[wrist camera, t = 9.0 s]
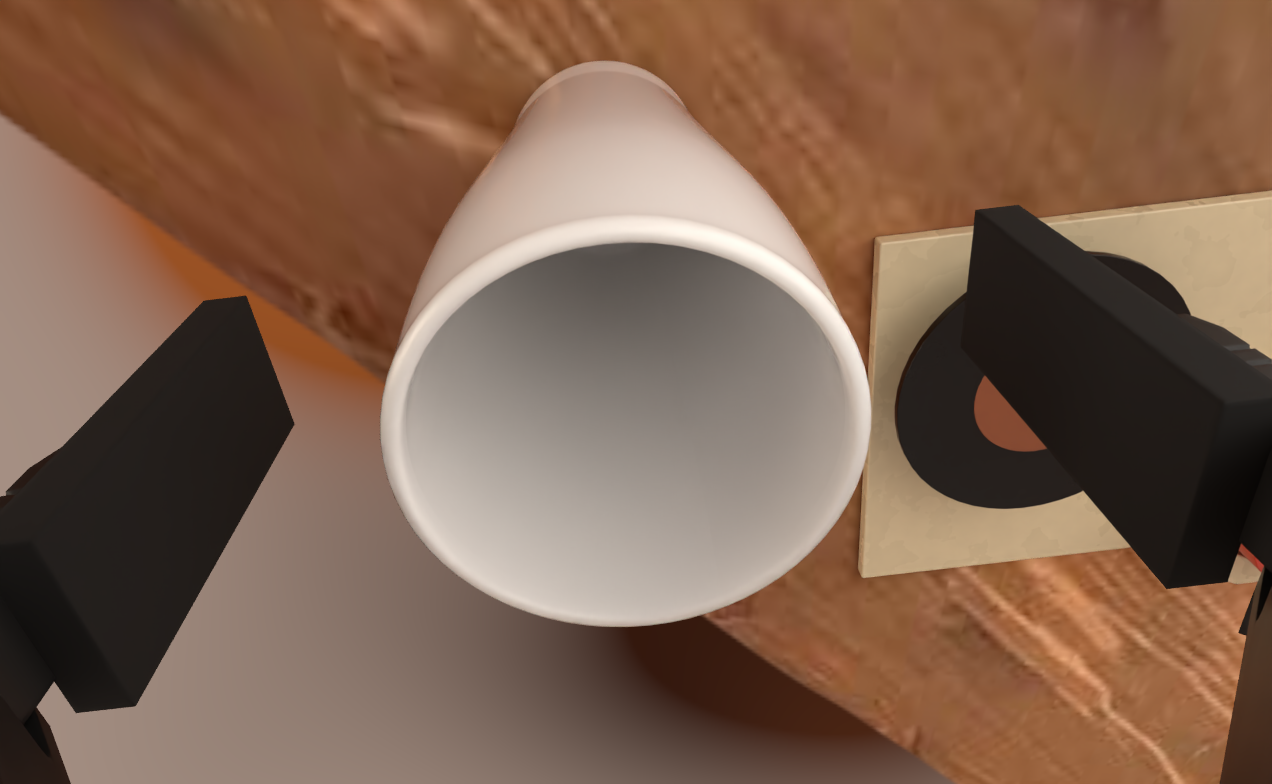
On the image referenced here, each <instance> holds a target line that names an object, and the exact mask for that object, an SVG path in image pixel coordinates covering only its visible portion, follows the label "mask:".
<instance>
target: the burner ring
mask: <svg viewBox="0 0 1272 784" xmlns="http://www.w3.org/2000/svg"><path fill="white" fill-rule="evenodd" d="M1086 252H1087V253H1089V254H1090V255H1092V256H1093V257H1094V258H1096V259H1097V260H1099V261H1100V262H1102V263H1103V264H1105V265H1106V266H1107V267H1109V268H1110V269H1112V270H1113V271H1115V272H1116V273H1118V274H1119V275H1121V276H1122V277H1123V278H1125V279H1126V280H1128V281H1129V282H1131V283H1132V284H1134V285H1135V286H1136V287H1138V288H1139V289H1141V290H1142V291H1144V292H1145V293H1147V294H1148V295H1150V296H1151V297H1152V298H1154V299H1155V300H1157V301H1158V302H1160V303H1161V304H1163V305H1164V306H1165V307H1167V308H1168V309H1170V310H1171V311H1173V312H1174V313H1176V314H1185V313H1186V314H1189V315H1191V313H1190V311H1189V309H1188V307H1187V305H1186V303H1185V301H1184V299H1183V297H1182V296H1181V295H1180V293H1179V292H1178V291H1177V290H1176V288H1175V287H1174V286H1173V285H1172V284H1171V283H1170V282H1169V281H1168V280H1166V279H1165V278H1164V277H1163V276H1162V275H1161V274H1159V273H1158V272H1156V271H1154V270H1153V269H1151V268H1149V267H1148V266H1146V265H1144V264H1143V263H1141V262H1138V261H1135V260H1133V259H1130V258H1128V257H1125V256H1121V255H1116V254H1111V253H1107V252H1095V251H1086ZM965 301H966V293H964V294H963V295H962V296H960V297H959V298H958V299H957V300H956V301H954V302H953V303H952V304H951V305H950V306H949V307H947V308H946V309H945V310H944V311H943V312H942V313H941V315H940V316H939V317H938V318H937V319H936V320H935V321H934V322H933V323H932V324H931V325H930V327H929V328H928V329H927V330H926V332H925V333H924V334H923V336H922V337H921V338H920V340H919V341H918V343H917V345H916V346H915V348H914V350H913V351H912V353H911V355H910V356H909V358H908V361H907V363H906V365H905V367H904V370H903V372H902V375H901V378H900V381H899V385H898V388H897V394H896V400H895V427H896V433H897V438H898V440H899V443H900V446H901V449H902V451H903V453H904V455H905V457H906V458H907V460H908V462H909V464H910V465H911V467H912V468H913V470H914V471H915V472H916V473H917V474H918V476H919V477H920V478H921V479H922V480H923V481H924V482H926V483H927V484H928V485H929V486H930V487H931V488H933V489H935V490H936V491H938V492H939V493H941V494H943V495H944V496H947V497H949V498H951V499H953V500H956V501H958V502H961V503H965V504H968V505H972V506H977V507H984V508H993V509H1015V508H1026V507H1032V506H1038V505H1043V504H1047V503H1051V502H1055V501H1059V500H1062V499H1064V498H1067V497H1070V496H1073V495H1075V494H1078V493H1080V492H1082V491H1083V490H1082V489H1081V488H1080V487H1079V485H1078V484H1077V483H1076V482H1075V481H1074V479H1073V478H1072V477H1071V476H1070V475H1069V474H1068V472H1067V471H1066V470H1065V469H1064V468H1063V467H1062V465H1061V464H1060V463H1059V462H1058V461H1057V460H1056V458H1055V457H1054V456H1053V455H1052V454H1051V452H1050V451H1049V450H1048V449H1047V448H1046V447H1045V445H1044V444H1043V443H1042V442H1041V441H1040V440H1039V438H1038V437H1037V436H1036V435H1035V434H1034V432H1033V431H1032V430H1031V429H1030V428H1029V427H1028V425H1027V424H1026V423H1025V422H1024V421H1023V420H1022V418H1021V417H1020V416H1019V415H1018V414H1017V413H1016V411H1015V410H1014V409H1013V408H1012V407H1011V405H1010V404H1009V403H1008V402H1007V401H1006V400H1005V398H1004V397H1003V396H1002V395H1001V394H1000V393H999V391H998V390H997V389H996V388H995V387H994V386H993V384H992V383H991V382H990V381H989V380H988V378H987V377H986V376H985V375H984V374H983V373H982V371H981V370H980V369H979V368H978V367H977V366H976V364H975V363H974V362H973V361H972V360H971V358H970V357H969V356H968V355H967V354H966V353H965V351H964V350H963V349H962V348H961V347H960V346H961V337H962V328H963V319H964V310H965Z"/></svg>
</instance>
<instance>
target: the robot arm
mask: <svg viewBox="0 0 1272 784" xmlns="http://www.w3.org/2000/svg"><path fill="white" fill-rule="evenodd" d="M960 347H961V348H962V349H963V350H964V351H965V353H966V354H967V355H968V356H969V357H970V358H971V360H972V361H973V362H974V363H975V364H976V366H977V367H978V368H979V369H980V370H981V371H982V373H983V374H984V375H985V376H986V377H987V378H988V380H989V381H990V382H991V383H992V384H993V386H994V387H995V388H996V389H997V390H998V391H999V393H1000V394H1001V395H1002V396H1003V397H1004V398H1005V400H1006V401H1007V402H1008V403H1009V404H1010V405H1011V407H1012V408H1013V409H1014V410H1015V411H1016V413H1017V414H1018V415H1019V416H1020V417H1021V418H1022V420H1023V421H1024V422H1025V423H1026V424H1027V425H1028V427H1029V428H1030V429H1031V430H1032V431H1033V432H1034V434H1035V435H1036V436H1037V437H1038V438H1039V440H1040V441H1041V442H1042V443H1043V444H1044V445H1045V447H1046V448H1047V449H1048V450H1049V451H1050V452H1051V454H1052V455H1053V456H1054V457H1055V458H1056V460H1057V461H1058V462H1059V463H1060V464H1061V465H1062V467H1063V468H1064V469H1065V470H1066V471H1067V472H1068V474H1069V475H1070V476H1071V477H1072V478H1073V479H1074V481H1075V482H1076V483H1077V484H1078V485H1079V487H1080V488H1081V489H1082V490H1083V491H1084V492H1085V494H1086V495H1087V496H1088V497H1089V498H1090V499H1091V501H1092V502H1093V503H1094V504H1095V505H1096V507H1097V508H1098V509H1099V510H1100V511H1101V512H1102V514H1103V515H1104V516H1105V517H1106V518H1107V519H1108V521H1109V522H1110V523H1111V524H1112V525H1113V526H1114V528H1115V529H1116V530H1117V531H1118V532H1119V534H1120V535H1121V536H1122V537H1123V538H1124V539H1125V541H1126V542H1127V543H1128V544H1129V545H1130V546H1131V548H1132V549H1133V550H1134V551H1135V552H1136V554H1137V555H1138V556H1139V557H1140V558H1141V559H1142V561H1143V562H1144V563H1145V564H1146V565H1147V566H1148V568H1149V569H1150V570H1151V571H1152V572H1153V573H1154V575H1155V576H1156V577H1157V578H1158V579H1159V581H1160V582H1161V583H1162V584H1163V585H1164V586H1165V588H1166V589H1171V588H1179V587H1188V586H1197V585H1206V584H1215V583H1223V582H1228V579H1229V576H1230V573H1231V571H1232V568H1233V565H1234V562H1235V559H1236V557H1237V554H1238V551H1239V548H1240V545H1241V544H1242V545H1243V546H1244V547H1245V548H1246V549H1247V550H1248V551H1249V552H1250V553H1252V554H1253V555H1254V556H1255V557H1256V558H1257V559H1258V560H1259V561H1260V562H1261V563H1262V564H1263V565H1264V567H1263V569H1262V572H1261V575H1260V577H1259V580H1258V583H1257V585H1256V588H1255V590H1254V593H1253V596H1252V598H1251V601H1250V604H1249V606H1248V609H1247V611H1246V614H1245V617H1244V619H1243V622H1242V625H1241V627H1240V630H1239V632H1238V633H1240V634H1243V635H1246V642H1245V647H1244V653H1243V658H1242V664H1241V669H1240V675H1239V680H1238V686H1237V691H1236V697H1235V702H1234V708H1233V713H1232V719H1231V724H1230V730H1229V735H1228V741H1227V746H1226V752H1225V757H1224V763H1223V768H1222V773H1221V779H1220V784H1272V359H1271V358H1269V357H1267V356H1266V355H1264V354H1263V353H1261V352H1260V351H1258V350H1257V349H1255V348H1254V349H1250V345H1249V344H1248V343H1246V342H1245V341H1243V340H1242V339H1240V338H1239V337H1237V336H1236V335H1234V334H1233V333H1231V332H1230V331H1228V330H1227V329H1225V328H1224V327H1221V326H1218V325H1216V324H1213V323H1210V322H1208V321H1205V320H1202V319H1200V318H1197V317H1194V316H1191V315H1189V314H1186V313H1185V314H1176V313H1174V312H1173V311H1171V310H1170V309H1168V308H1167V307H1165V306H1164V305H1163V304H1161V303H1160V302H1158V301H1157V300H1155V299H1154V298H1152V297H1151V296H1150V295H1148V294H1147V293H1145V292H1144V291H1142V290H1141V289H1139V288H1138V287H1136V286H1135V285H1134V284H1132V283H1131V282H1129V281H1128V280H1126V279H1125V278H1123V277H1122V276H1121V275H1119V274H1118V273H1116V272H1115V271H1113V270H1112V269H1110V268H1109V267H1107V266H1106V265H1105V264H1103V263H1102V262H1100V261H1099V260H1097V259H1096V258H1094V257H1093V256H1092V255H1090V254H1089V253H1087V252H1086V251H1084V250H1083V249H1081V248H1080V247H1078V246H1077V245H1076V244H1074V243H1073V242H1071V241H1070V240H1068V239H1067V238H1065V237H1064V236H1063V235H1061V234H1060V233H1058V232H1057V231H1055V230H1054V229H1052V228H1051V227H1049V226H1048V225H1047V224H1045V223H1044V222H1042V221H1041V220H1039V219H1038V218H1036V217H1035V216H1034V215H1032V214H1031V213H1029V212H1028V211H1026V210H1025V209H1023V208H1022V207H1020V206H1019V205H1014V206H1006V207H997V208H989V209H980V210H975V219H974V228H973V237H972V246H971V255H970V264H969V273H968V283H967V292H966V301H965V310H964V319H963V328H962V337H961V346H960ZM293 426H294V422H293V419H292V416H291V413H290V411H289V408H288V406H287V403H286V400H285V397H284V395H283V392H282V389H281V387H280V384H279V382H278V379H277V376H276V373H275V371H274V368H273V366H272V363H271V360H270V358H269V355H268V352H267V350H266V347H265V345H264V342H263V339H262V336H261V334H260V331H259V328H258V326H257V323H256V320H255V318H254V315H253V312H252V310H251V307H250V305H249V302H248V299H247V297H246V296H240V297H232V298H223V299H214V300H206V301H203V302H202V303H201V304H200V305H199V306H198V308H196V309H195V311H194V312H193V313H192V314H191V315H190V316H189V317H188V318H187V319H186V320H185V321H184V322H183V323H182V324H181V325H180V326H179V327H178V328H177V329H176V330H175V331H174V332H173V333H172V334H171V335H170V336H169V338H167V340H165V341H164V343H163V344H162V345H161V346H160V347H159V348H158V349H157V350H156V351H155V352H154V353H153V354H152V355H151V356H150V357H149V358H148V359H147V360H146V361H145V362H144V363H143V364H142V365H141V366H140V367H139V368H138V370H136V371H135V372H134V373H133V374H132V375H131V377H130V378H129V379H128V380H127V381H126V382H125V383H124V384H123V385H122V386H121V387H120V388H119V389H118V390H117V391H116V392H115V393H114V394H113V395H112V396H111V397H110V398H109V399H108V400H107V401H106V402H105V404H103V405H102V406H101V407H100V408H99V410H98V411H97V412H96V413H95V414H94V415H93V416H92V417H91V418H90V419H89V420H88V421H87V422H86V423H85V424H84V425H83V426H82V427H81V428H80V429H79V430H78V431H77V432H76V433H75V434H74V435H73V436H72V437H71V438H70V439H69V440H68V441H67V442H66V444H65V445H64V446H63V447H61V448H60V449H58V450H57V451H55V452H53V453H52V454H51V455H49V456H47V457H46V458H44V459H43V460H41V461H40V462H38V463H37V464H35V465H33V466H32V467H30V468H29V469H28V470H27V471H26V472H25V473H24V474H23V475H22V476H21V477H20V478H19V479H18V480H17V481H16V482H15V483H14V484H13V485H12V486H11V487H10V488H9V489H8V490H7V491H6V496H1V497H0V784H71V783H70V780H69V778H68V775H67V772H66V769H65V766H64V764H63V761H62V758H61V756H60V753H59V750H58V747H57V745H56V742H55V739H54V736H53V733H52V731H51V728H50V726H49V724H48V723H47V722H46V720H45V719H44V717H43V716H42V715H41V713H40V712H39V710H38V709H37V705H38V704H39V702H40V701H41V700H42V698H43V697H44V695H45V694H46V692H47V691H48V689H49V688H50V686H51V685H52V683H53V682H55V683H56V685H57V686H58V687H59V689H60V690H61V692H62V693H63V695H64V696H65V698H66V699H67V701H68V702H69V704H70V705H71V706H72V708H73V709H74V711H75V712H76V713H80V712H89V711H97V710H107V709H116V708H124V707H133V706H136V705H137V703H138V701H139V699H140V697H141V696H142V694H143V692H144V690H145V689H146V687H147V685H148V683H149V681H150V680H151V678H152V676H153V674H154V673H155V671H156V669H157V667H158V665H159V664H160V662H161V660H162V658H163V657H164V655H165V653H166V651H167V650H168V648H169V646H170V644H171V642H172V640H173V639H174V637H175V635H176V634H177V632H178V630H179V628H180V626H181V625H182V623H183V621H184V619H185V618H186V616H187V614H188V612H189V610H190V609H191V607H192V605H193V603H194V602H195V600H196V598H197V596H198V594H199V593H200V591H201V589H202V587H203V586H204V583H205V582H206V580H207V579H208V577H209V575H210V573H211V571H212V569H213V568H214V566H215V564H216V562H217V561H218V559H219V557H220V555H221V554H222V552H223V550H224V548H225V546H226V545H227V543H228V541H229V539H230V538H231V536H232V534H233V532H234V531H235V529H236V527H237V525H238V523H239V522H240V520H241V518H242V516H243V514H244V513H245V511H246V509H247V508H248V506H249V504H250V502H251V500H252V499H253V497H254V495H255V493H256V492H257V490H258V488H259V486H260V484H261V483H262V481H263V479H264V477H265V475H266V474H267V472H268V470H269V468H270V467H271V465H272V463H273V461H274V460H275V458H276V456H277V454H278V452H279V451H280V449H281V447H282V445H283V444H284V442H285V440H286V438H287V436H288V435H289V433H290V431H291V429H292V428H293Z"/></svg>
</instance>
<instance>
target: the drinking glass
mask: <svg viewBox="0 0 1272 784" xmlns="http://www.w3.org/2000/svg"><path fill="white" fill-rule="evenodd" d="M870 432H871V399H870V390H869V383H868V379H867V375H866V370H865V366H864V363H863V360H862V358H861V355H860V352H859V349H858V347H857V344H856V342H855V340H854V338H853V336H852V334H851V332H850V330H849V328H848V326H847V324H846V323H845V320H844V318H843V316H842V314H841V312H840V310H839V308H838V306H837V303H836V301H835V299H834V297H833V295H832V294H831V292H830V290H829V288H828V286H827V284H826V282H825V280H824V278H823V276H822V274H821V272H820V270H819V268H818V266H817V265H816V263H815V261H814V259H813V257H812V256H811V254H810V252H809V251H808V249H807V247H806V246H805V244H804V243H803V241H802V240H801V238H800V237H799V235H798V234H797V232H796V231H795V229H794V228H793V226H792V225H791V223H790V222H789V220H788V219H787V217H786V216H785V214H784V213H783V212H782V210H781V209H780V208H779V206H778V205H777V204H776V202H775V201H774V200H773V199H772V198H771V196H770V195H769V194H768V193H767V192H766V190H765V189H764V188H763V187H762V186H761V185H760V183H759V182H758V181H757V180H756V179H755V178H754V177H753V176H752V175H751V174H750V173H749V172H748V171H747V170H746V168H745V167H743V166H742V165H741V164H740V163H739V162H738V161H737V160H736V159H735V158H734V157H733V156H732V155H731V154H730V153H729V152H728V151H727V150H726V149H725V148H724V147H723V146H722V145H721V144H720V143H719V142H718V141H717V140H716V139H715V138H713V137H712V136H711V135H710V134H709V133H708V132H707V131H706V130H705V129H704V128H703V127H702V126H701V125H700V124H699V123H698V122H697V121H696V120H695V119H694V118H693V116H692V115H691V114H690V113H689V111H688V109H687V107H686V106H685V104H684V103H683V102H682V100H681V99H680V97H679V96H678V95H677V94H676V93H675V91H673V90H672V89H671V88H670V87H669V86H668V85H667V84H666V83H665V82H664V81H662V80H661V79H660V78H658V77H657V76H655V75H654V74H652V73H650V72H648V71H646V70H644V69H642V68H640V67H637V66H635V65H631V64H628V63H624V62H617V61H591V62H585V63H581V64H578V65H574V66H572V67H569V68H566V69H564V70H562V71H560V72H558V73H557V74H555V75H554V76H552V77H551V78H549V79H548V80H547V81H545V82H544V83H543V84H542V85H541V86H540V87H539V88H538V89H537V90H536V91H535V92H534V93H533V94H532V95H531V97H530V98H529V99H528V100H527V102H526V103H525V105H524V106H523V108H522V110H521V112H520V114H519V116H518V118H517V121H516V123H515V126H514V128H513V130H512V131H511V132H510V134H509V135H508V137H507V138H506V139H505V141H504V142H503V143H502V145H501V146H500V147H499V149H498V150H497V152H496V153H495V154H494V156H493V157H492V158H491V159H490V161H489V162H488V163H487V165H486V166H485V167H484V169H483V170H482V171H481V173H480V174H479V175H478V177H477V178H476V179H475V181H474V182H473V183H472V185H471V186H470V188H469V189H468V190H467V192H466V193H465V195H464V196H463V198H462V199H461V201H460V202H459V204H458V205H457V207H456V208H455V210H454V211H453V213H452V215H451V216H450V218H449V219H448V221H447V223H446V225H445V226H444V228H443V230H442V232H441V234H440V236H439V238H438V240H437V242H436V244H435V246H434V248H433V250H432V252H431V254H430V256H429V258H428V260H427V262H426V264H425V267H424V269H423V272H422V274H421V276H420V279H419V281H418V284H417V287H416V289H415V292H414V295H413V297H412V300H411V303H410V306H409V308H408V311H407V314H406V317H405V320H404V323H403V326H402V329H401V333H400V336H399V340H398V343H397V347H396V350H395V354H394V358H393V361H392V364H391V367H390V370H389V372H388V375H387V379H386V384H385V388H384V392H383V396H382V405H381V414H380V441H381V449H382V457H383V462H384V466H385V470H386V474H387V478H388V481H389V484H390V486H391V489H392V492H393V495H394V497H395V499H396V501H397V503H398V505H399V507H400V509H401V511H402V513H403V515H404V517H405V518H406V520H407V521H408V523H409V524H410V526H411V528H412V529H413V531H414V532H415V533H416V535H417V536H418V537H419V538H420V540H421V541H422V542H423V543H424V545H425V546H426V547H427V548H428V549H429V550H430V551H431V552H432V553H433V554H434V555H435V556H436V557H437V558H438V559H439V560H440V561H441V562H442V563H443V564H444V565H445V566H446V567H448V568H449V569H450V570H451V571H452V572H454V573H455V574H456V575H457V576H459V577H460V578H462V579H463V580H465V581H466V582H467V583H469V584H470V585H472V586H473V587H475V588H477V589H478V590H480V591H482V592H483V593H486V594H487V595H489V596H490V597H492V598H495V599H497V600H499V601H501V602H503V603H505V604H507V605H509V606H512V607H515V608H517V609H520V610H523V611H525V612H528V613H531V614H535V615H538V616H542V617H545V618H549V619H554V620H558V621H563V622H567V623H574V624H581V625H590V626H604V627H633V626H647V625H655V624H662V623H669V622H674V621H679V620H684V619H688V618H692V617H696V616H699V615H703V614H706V613H709V612H712V611H715V610H718V609H720V608H723V607H726V606H728V605H731V604H733V603H735V602H737V601H740V600H742V599H744V598H746V597H748V596H750V595H752V594H754V593H755V592H757V591H759V590H761V589H763V588H765V587H766V586H768V585H769V584H771V583H772V582H774V581H775V580H777V579H778V578H780V577H782V576H783V575H784V574H785V573H787V572H788V571H789V570H791V569H792V568H793V567H795V566H796V565H797V564H798V563H799V562H800V561H802V560H803V559H804V558H805V557H806V556H807V555H808V554H809V553H810V552H811V551H812V550H813V549H814V548H815V547H816V546H817V545H818V544H819V543H820V542H821V541H822V540H823V538H824V537H825V536H826V535H827V534H828V532H829V531H830V530H831V528H832V527H833V526H834V525H835V523H836V522H837V521H838V519H839V517H840V516H841V514H842V513H843V511H844V509H845V508H846V506H847V505H848V503H849V501H850V499H851V497H852V495H853V493H854V491H855V489H856V487H857V484H858V481H859V479H860V476H861V473H862V470H863V468H864V464H865V460H866V456H867V452H868V448H869V440H870Z"/></svg>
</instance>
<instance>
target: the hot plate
mask: <svg viewBox="0 0 1272 784" xmlns="http://www.w3.org/2000/svg"><path fill="white" fill-rule="evenodd" d="M1038 219H1039V220H1041V221H1042V222H1044V223H1045V224H1047V225H1048V226H1049V227H1051V228H1052V229H1054V230H1055V231H1057V232H1058V233H1060V234H1061V235H1063V236H1064V237H1065V238H1067V239H1068V240H1070V241H1071V242H1073V243H1074V244H1076V245H1077V246H1078V247H1080V248H1081V249H1083V250H1084V251H1095V252H1107V253H1111V254H1116V255H1121V256H1125V257H1128V258H1130V259H1133V260H1135V261H1138V262H1141V263H1143V264H1144V265H1146V266H1148V267H1149V268H1151V269H1153V270H1154V271H1156V272H1158V273H1159V274H1161V275H1162V276H1163V277H1164V278H1165V279H1166V280H1168V281H1169V282H1170V283H1171V284H1172V285H1173V286H1174V287H1175V288H1176V290H1177V291H1178V292H1179V293H1180V295H1181V296H1182V297H1183V299H1184V301H1185V303H1186V305H1187V307H1188V309H1189V311H1190V313H1191V316H1194V317H1197V318H1200V319H1202V320H1205V321H1208V322H1210V323H1213V324H1216V325H1218V326H1221V327H1224V328H1225V329H1227V330H1228V331H1230V332H1231V333H1233V334H1234V335H1236V336H1237V337H1239V338H1240V339H1242V340H1243V341H1245V342H1246V343H1248V344H1249V345H1250V349H1254V348H1255V349H1257V350H1258V351H1260V352H1261V353H1263V354H1264V355H1266V356H1267V357H1269V358H1271V359H1272V191H1264V192H1256V193H1247V194H1239V195H1230V196H1222V197H1213V198H1205V199H1196V200H1188V201H1179V202H1170V203H1162V204H1153V205H1145V206H1136V207H1128V208H1119V209H1111V210H1102V211H1094V212H1085V213H1077V214H1068V215H1060V216H1051V217H1043V218H1038ZM973 228H974V226H966V227H957V228H949V229H940V230H932V231H923V232H915V233H906V234H898V235H889V236H881V237H876V238H875V248H874V267H873V287H872V307H871V326H870V346H869V365H868V383H869V390H870V399H871V432H870V440H869V448H868V452H867V456H866V460H865V464H864V468H863V483H862V503H861V522H860V542H859V562H858V569H859V572H860V574H861V576H862V578H868V577H877V576H886V575H894V574H903V573H912V572H921V571H929V570H938V569H947V568H956V567H965V566H973V565H982V564H991V563H1000V562H1008V561H1017V560H1026V559H1035V558H1043V557H1052V556H1061V555H1070V554H1078V553H1087V552H1096V551H1105V550H1114V549H1122V548H1131V546H1130V545H1129V544H1128V543H1127V542H1126V541H1125V539H1124V538H1123V537H1122V536H1121V535H1120V534H1119V532H1118V531H1117V530H1116V529H1115V528H1114V526H1113V525H1112V524H1111V523H1110V522H1109V521H1108V519H1107V518H1106V517H1105V516H1104V515H1103V514H1102V512H1101V511H1100V510H1099V509H1098V508H1097V507H1096V505H1095V504H1094V503H1093V502H1092V501H1091V499H1090V498H1089V497H1088V496H1087V495H1086V494H1085V492H1084V491H1082V492H1080V493H1078V494H1075V495H1073V496H1070V497H1067V498H1064V499H1062V500H1059V501H1055V502H1051V503H1047V504H1043V505H1038V506H1032V507H1026V508H1015V509H993V508H984V507H977V506H972V505H968V504H965V503H961V502H958V501H956V500H953V499H951V498H949V497H947V496H944V495H943V494H941V493H939V492H938V491H936V490H935V489H933V488H931V487H930V486H929V485H928V484H927V483H926V482H924V481H923V480H922V479H921V478H920V477H919V476H918V474H917V473H916V472H915V471H914V470H913V468H912V467H911V465H910V464H909V462H908V460H907V458H906V457H905V455H904V453H903V451H902V449H901V446H900V443H899V440H898V438H897V433H896V427H895V400H896V394H897V388H898V385H899V381H900V378H901V375H902V372H903V370H904V367H905V365H906V363H907V361H908V358H909V356H910V355H911V353H912V351H913V350H914V348H915V346H916V345H917V343H918V341H919V340H920V338H921V337H922V336H923V334H924V333H925V332H926V330H927V329H928V328H929V327H930V325H931V324H932V323H933V322H934V321H935V320H936V319H937V318H938V317H939V316H940V315H941V313H942V312H943V311H944V310H945V309H946V308H947V307H949V306H950V305H951V304H952V303H953V302H954V301H956V300H957V299H958V298H959V297H960V296H962V295H963V294H964V293H966V292H967V283H968V273H969V264H970V255H971V246H972V237H973ZM1260 575H1261V572H1260V571H1259V570H1258V569H1257V568H1256V567H1255V566H1254V565H1253V564H1252V563H1251V562H1250V561H1249V560H1248V559H1247V558H1246V557H1245V556H1244V555H1243V554H1242V553H1241V552H1240V551H1238V554H1237V557H1236V559H1235V562H1234V565H1233V568H1232V571H1231V573H1230V576H1229V579H1228V582H1231V583H1234V584H1243V583H1251V582H1258V580H1259V577H1260Z"/></svg>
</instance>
